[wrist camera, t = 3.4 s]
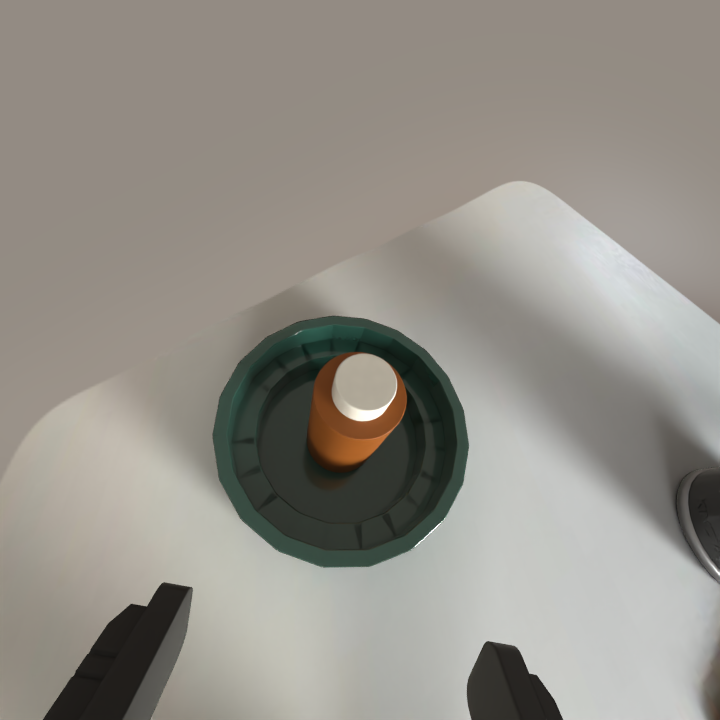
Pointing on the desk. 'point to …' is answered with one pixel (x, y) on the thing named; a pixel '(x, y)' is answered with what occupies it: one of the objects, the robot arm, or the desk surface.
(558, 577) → the desk surface
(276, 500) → the bowl
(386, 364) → the bottle
